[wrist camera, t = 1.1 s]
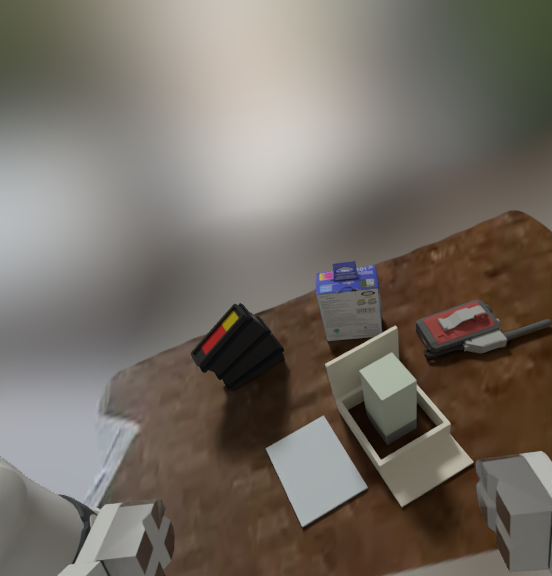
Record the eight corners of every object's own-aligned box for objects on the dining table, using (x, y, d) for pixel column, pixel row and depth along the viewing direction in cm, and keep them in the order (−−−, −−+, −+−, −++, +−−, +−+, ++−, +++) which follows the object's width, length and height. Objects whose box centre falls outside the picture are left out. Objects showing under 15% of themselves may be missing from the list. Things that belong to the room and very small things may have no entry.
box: (387, 445, 60) (381, 400, 51) (367, 417, 64) (359, 370, 55) (416, 428, 61) (416, 380, 52) (395, 401, 65) (391, 352, 56)
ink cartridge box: (380, 312, 77) (375, 253, 67) (384, 337, 73) (379, 278, 63) (326, 317, 79) (312, 261, 69) (326, 342, 75) (312, 286, 65)
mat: (302, 527, 56) (302, 526, 56) (266, 449, 64) (265, 448, 64) (367, 488, 57) (367, 487, 57) (323, 416, 66) (323, 415, 65)
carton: (401, 507, 55) (399, 471, 46) (337, 408, 66) (325, 364, 57) (473, 463, 56) (483, 419, 48) (398, 374, 68) (395, 325, 59)
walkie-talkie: (432, 372, 67) (553, 331, 67) (433, 357, 64) (560, 313, 64) (407, 331, 73) (518, 294, 73) (407, 315, 70) (522, 276, 70)
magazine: (300, 344, 74) (246, 314, 63) (250, 398, 76) (189, 378, 65) (289, 331, 76) (235, 300, 66) (241, 383, 78) (180, 361, 67)
